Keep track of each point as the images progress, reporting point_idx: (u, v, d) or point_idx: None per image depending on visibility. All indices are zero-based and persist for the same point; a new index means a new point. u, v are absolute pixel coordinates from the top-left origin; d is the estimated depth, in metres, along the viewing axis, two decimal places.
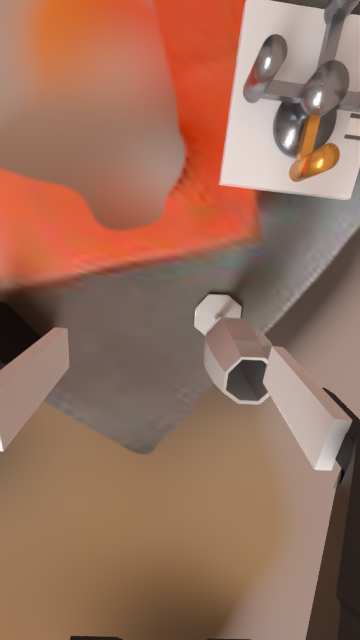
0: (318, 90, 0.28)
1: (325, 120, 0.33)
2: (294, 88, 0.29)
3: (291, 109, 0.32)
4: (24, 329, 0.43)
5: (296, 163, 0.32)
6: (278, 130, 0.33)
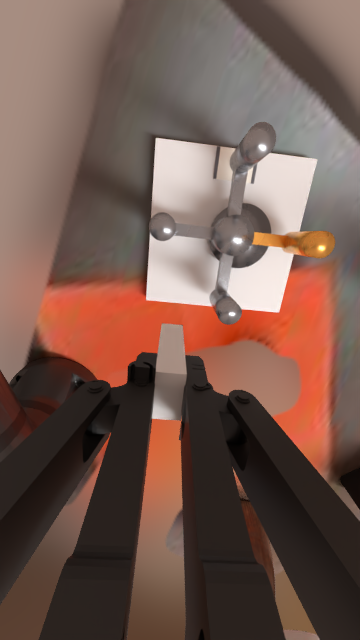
0: (238, 247, 0.28)
1: (241, 216, 0.31)
2: (225, 263, 0.30)
3: None
4: None
5: (291, 252, 0.30)
6: (246, 265, 0.33)
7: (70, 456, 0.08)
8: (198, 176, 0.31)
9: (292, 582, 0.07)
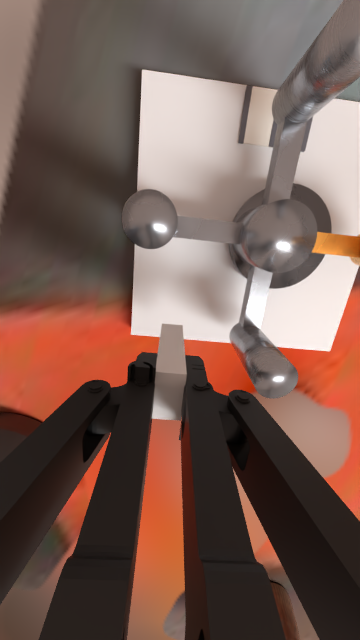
0: (286, 258, 0.16)
1: None
2: (258, 283, 0.18)
3: None
4: None
5: None
6: (288, 283, 0.21)
7: (70, 456, 0.08)
8: (213, 140, 0.18)
9: (293, 582, 0.07)
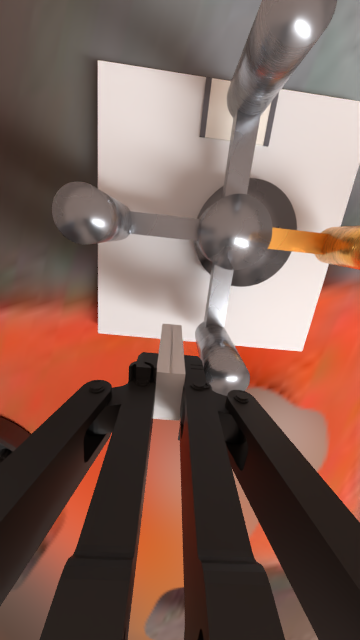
0: (242, 255, 0.15)
1: None
2: (219, 281, 0.18)
3: None
4: None
5: (334, 263, 0.17)
6: (254, 281, 0.20)
7: (71, 456, 0.08)
8: (174, 133, 0.18)
9: (291, 582, 0.07)
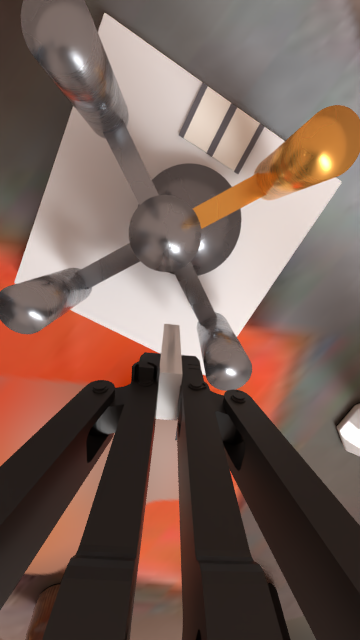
0: (182, 249, 0.15)
1: (170, 193, 0.18)
2: (185, 279, 0.18)
3: None
4: None
5: (281, 196, 0.15)
6: (224, 256, 0.19)
7: (74, 456, 0.08)
8: (156, 120, 0.18)
9: (289, 581, 0.07)
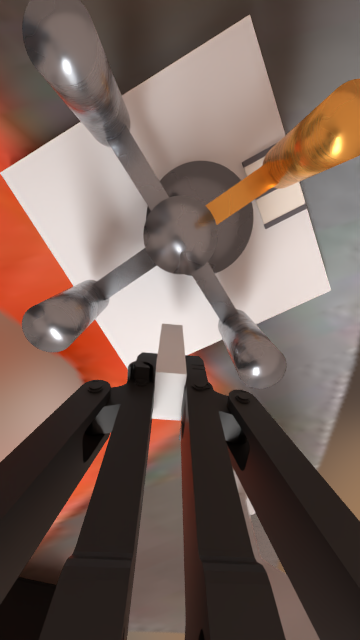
0: (199, 249, 0.15)
1: (178, 193, 0.18)
2: (203, 279, 0.17)
3: None
4: (42, 597, 0.36)
5: (295, 182, 0.15)
6: (239, 251, 0.19)
7: (70, 456, 0.08)
8: (231, 136, 0.18)
9: (292, 582, 0.07)
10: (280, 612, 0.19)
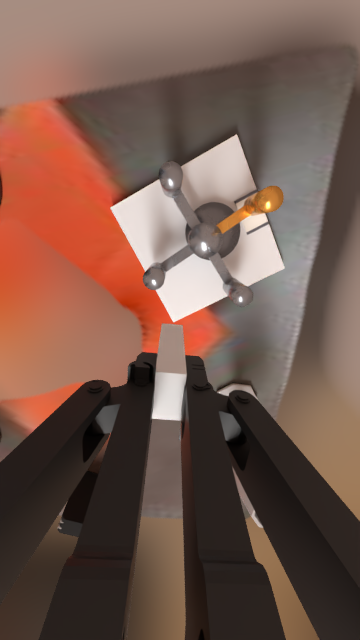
0: (214, 245, 0.32)
1: (202, 218, 0.35)
2: (215, 261, 0.35)
3: None
4: None
5: None
6: (233, 247, 0.36)
7: (70, 456, 0.08)
8: (228, 188, 0.35)
9: (292, 582, 0.07)
10: None
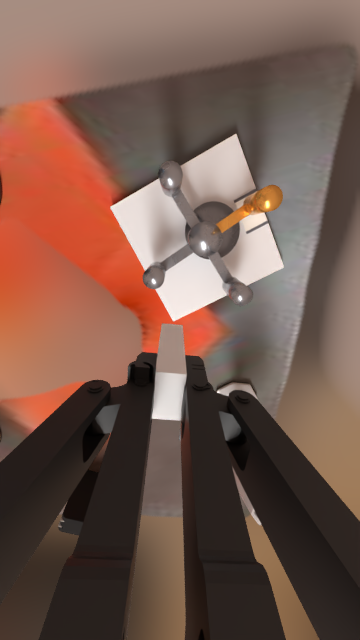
0: (214, 244, 0.32)
1: (201, 217, 0.35)
2: (215, 260, 0.35)
3: None
4: None
5: None
6: (232, 246, 0.36)
7: (70, 456, 0.08)
8: (228, 187, 0.35)
9: (293, 582, 0.07)
10: None
